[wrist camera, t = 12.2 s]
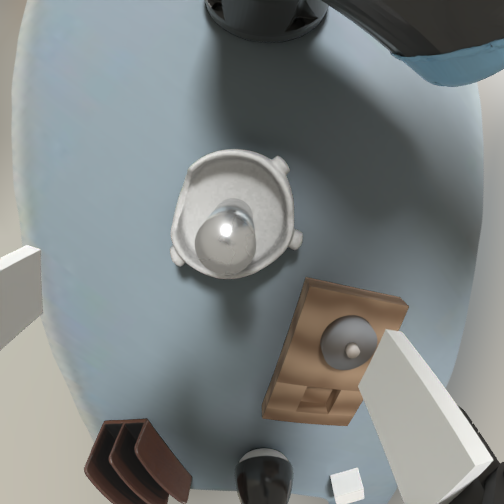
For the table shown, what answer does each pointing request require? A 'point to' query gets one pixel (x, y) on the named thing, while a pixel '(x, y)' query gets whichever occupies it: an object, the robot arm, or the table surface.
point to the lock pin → (227, 238)
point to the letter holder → (135, 465)
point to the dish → (244, 188)
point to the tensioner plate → (307, 363)
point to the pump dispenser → (264, 477)
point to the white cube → (347, 486)
